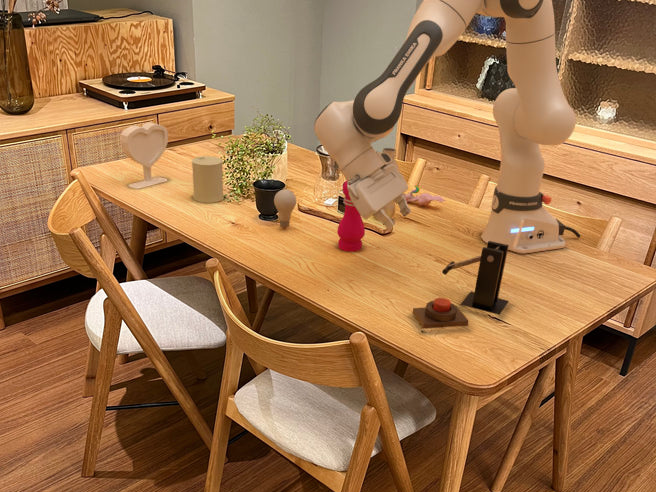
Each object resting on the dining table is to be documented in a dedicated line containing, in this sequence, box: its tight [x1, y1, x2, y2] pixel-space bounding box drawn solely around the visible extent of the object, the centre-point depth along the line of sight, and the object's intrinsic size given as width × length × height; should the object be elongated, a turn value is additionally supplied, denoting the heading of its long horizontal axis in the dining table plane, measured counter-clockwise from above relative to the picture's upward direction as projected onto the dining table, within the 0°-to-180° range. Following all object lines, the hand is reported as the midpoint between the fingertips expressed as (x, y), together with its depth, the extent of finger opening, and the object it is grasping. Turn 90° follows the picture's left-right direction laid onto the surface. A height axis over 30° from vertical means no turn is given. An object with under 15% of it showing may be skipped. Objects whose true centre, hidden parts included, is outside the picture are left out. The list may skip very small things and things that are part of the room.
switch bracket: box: [460, 241, 509, 316], centre depth 155 cm, size 9×8×15 cm
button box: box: [412, 300, 469, 334], centre depth 151 cm, size 10×7×4 cm
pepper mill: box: [336, 180, 366, 253], centre depth 181 cm, size 7×7×20 cm
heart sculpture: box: [119, 122, 169, 189], centre depth 220 cm, size 16×5×18 cm, turn 138°
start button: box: [433, 297, 452, 312], centre depth 149 cm, size 4×4×2 cm
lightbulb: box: [273, 188, 297, 230], centre depth 193 cm, size 6×6×11 cm
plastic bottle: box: [381, 147, 400, 218], centre depth 200 cm, size 6×7×20 cm
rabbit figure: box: [403, 185, 446, 207], centre depth 215 cm, size 6×6×15 cm
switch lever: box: [441, 246, 501, 275], centre depth 155 cm, size 13×6×2 cm
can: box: [191, 155, 225, 204], centre depth 212 cm, size 9×9×12 cm
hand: (400, 220), depth 160 cm, fingers open, 8 cm apart
